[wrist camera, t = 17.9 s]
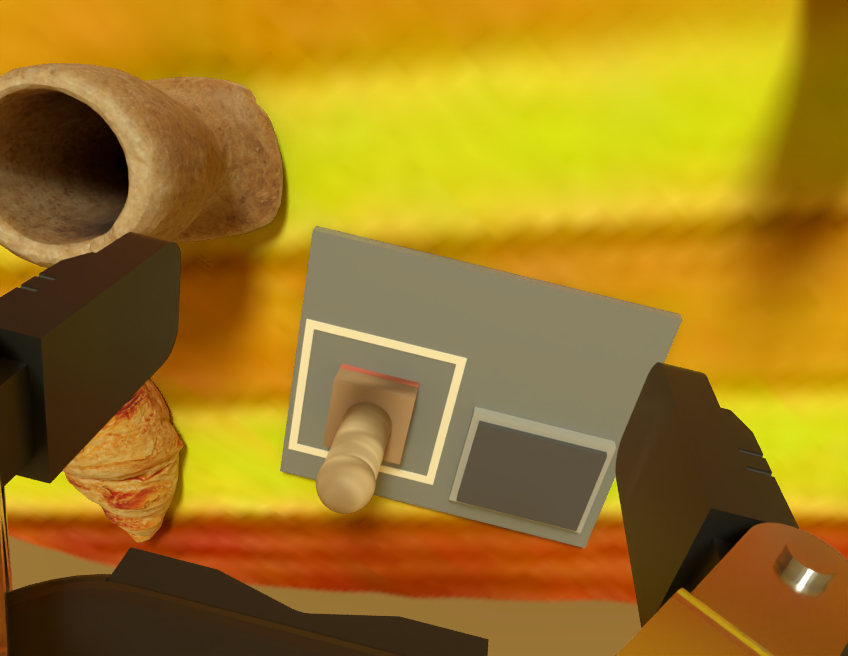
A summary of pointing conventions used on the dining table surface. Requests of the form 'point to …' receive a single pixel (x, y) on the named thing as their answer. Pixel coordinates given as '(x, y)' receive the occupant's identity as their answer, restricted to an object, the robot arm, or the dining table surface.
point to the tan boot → (129, 160)
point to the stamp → (363, 434)
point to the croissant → (132, 465)
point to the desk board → (476, 381)
